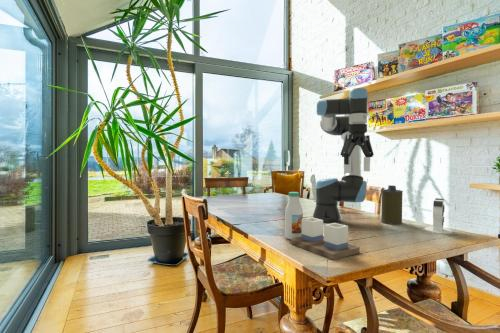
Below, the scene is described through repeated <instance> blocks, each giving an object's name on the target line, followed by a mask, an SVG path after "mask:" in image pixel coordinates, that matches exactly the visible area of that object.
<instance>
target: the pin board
mask: <svg viewBox="0 0 500 333" xmlns="http://www.w3.org/2000/svg"><path fill="white" fill-rule="evenodd" d="M290 244H291V245H293V246H295V247H298V248H301V249H304V250H307V251H309V252H311V253H314V254H316V255H320V256H322V257H325V258H326V259H330V260H331V261H337V260H339V259H342V258H346V257H349V256H353V255H357V254H359V253H361V252H360V251H361V250H360V248H361V247H360V246H356V245H353V244H350V243H348V248H344V249H341V250H334V249H331V248H328V247H325V246H324V235H323V240H320V241H316V242H310V241H307V240H304V239H302V237H298V238H293V239H290Z"/></svg>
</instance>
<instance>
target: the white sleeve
mask: <svg viewBox="0 0 500 333" xmlns="http://www.w3.org/2000/svg"><path fill="white" fill-rule="evenodd" d="M323 236H324V246H325V247H328V248H331V249H334V250H341V249H344V248H348V244H349V225H346V224H341V223H338V222H330V223H326V224H323Z"/></svg>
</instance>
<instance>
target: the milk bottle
mask: <svg viewBox="0 0 500 333" xmlns="http://www.w3.org/2000/svg"><path fill="white" fill-rule="evenodd" d="M299 199H300V192H298V191H289V192H288V202H287V205H286V206H285V211H284V214H285V215H284V237H285V239H287V240H291V239H293V238H298V237H302V219H304V218H303V217H304V213H303V207H302V205H301V202H300V200H299Z"/></svg>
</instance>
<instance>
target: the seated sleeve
mask: <svg viewBox="0 0 500 333" xmlns="http://www.w3.org/2000/svg"><path fill="white" fill-rule="evenodd" d="M323 236H324V222H323V220H321V219H317V218H313V217H307V218H303V219H302V239H304V240H307V241H310V242H316V241H320V240H323Z"/></svg>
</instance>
